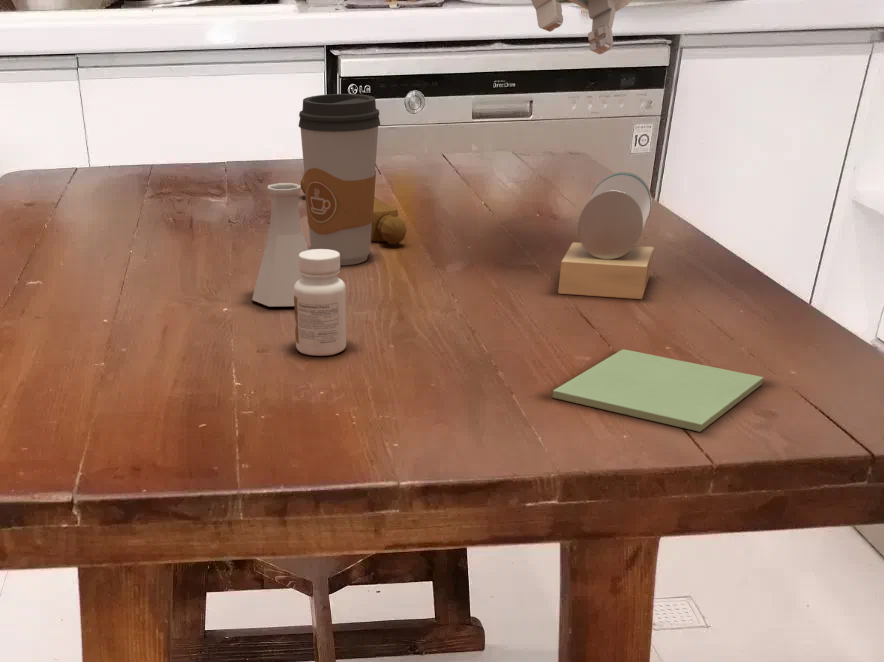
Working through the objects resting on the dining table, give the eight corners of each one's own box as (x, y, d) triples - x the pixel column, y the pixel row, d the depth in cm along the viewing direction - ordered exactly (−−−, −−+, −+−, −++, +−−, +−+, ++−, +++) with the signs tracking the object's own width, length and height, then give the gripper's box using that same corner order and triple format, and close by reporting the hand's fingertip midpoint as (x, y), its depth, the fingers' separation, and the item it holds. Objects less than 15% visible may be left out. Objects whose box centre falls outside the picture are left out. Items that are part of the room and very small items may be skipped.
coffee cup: (286, 260, 119) (280, 101, 109) (336, 245, 124) (334, 91, 114) (345, 272, 114) (344, 107, 105) (394, 256, 119) (397, 96, 110)
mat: (762, 384, 86) (764, 376, 86) (700, 432, 79) (701, 424, 78) (621, 355, 92) (622, 348, 92) (551, 397, 85) (552, 390, 84)
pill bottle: (309, 338, 98) (307, 245, 93) (354, 344, 96) (354, 249, 91) (286, 353, 94) (283, 257, 90) (332, 359, 93) (331, 262, 88)
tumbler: (586, 235, 113) (594, 169, 109) (646, 239, 111) (657, 172, 107) (573, 258, 106) (581, 188, 102) (637, 262, 104) (648, 191, 101)
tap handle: (321, 169, 143) (411, 216, 120) (321, 195, 145) (410, 246, 122) (298, 171, 142) (385, 219, 120) (299, 197, 144) (385, 249, 122)
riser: (568, 273, 112) (572, 242, 111) (648, 278, 110) (653, 246, 109) (557, 293, 107) (561, 261, 105) (641, 299, 105) (646, 266, 103)
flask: (242, 293, 109) (236, 182, 103) (312, 285, 111) (309, 175, 105) (262, 313, 104) (256, 197, 98) (334, 304, 105) (333, 190, 99)
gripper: (522, -186, 91) (548, -7, 93) (637, -106, 105) (657, 47, 107) (461, -140, 95) (487, 29, 97) (579, -70, 110) (600, 76, 112)
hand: (577, 39), depth 103 cm, fingers open, 8 cm apart
